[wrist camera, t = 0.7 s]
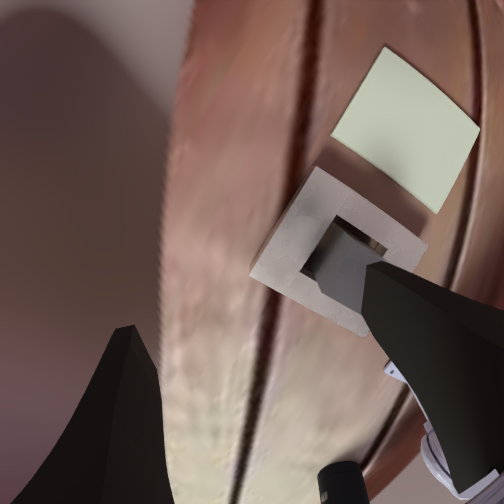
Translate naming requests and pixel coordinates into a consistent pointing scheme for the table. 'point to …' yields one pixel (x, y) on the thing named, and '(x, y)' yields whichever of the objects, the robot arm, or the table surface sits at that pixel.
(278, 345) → the table surface
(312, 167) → the socket block
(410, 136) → the pad
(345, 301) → the peg
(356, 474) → the dark wine bottle
